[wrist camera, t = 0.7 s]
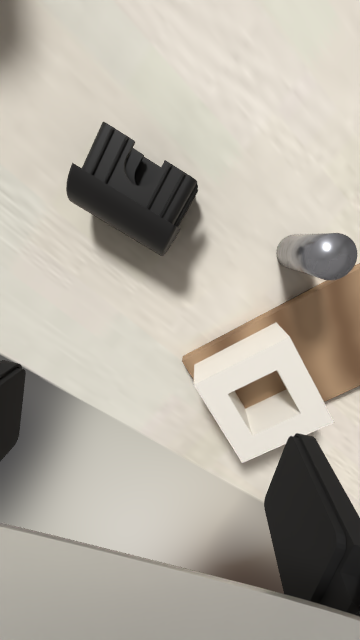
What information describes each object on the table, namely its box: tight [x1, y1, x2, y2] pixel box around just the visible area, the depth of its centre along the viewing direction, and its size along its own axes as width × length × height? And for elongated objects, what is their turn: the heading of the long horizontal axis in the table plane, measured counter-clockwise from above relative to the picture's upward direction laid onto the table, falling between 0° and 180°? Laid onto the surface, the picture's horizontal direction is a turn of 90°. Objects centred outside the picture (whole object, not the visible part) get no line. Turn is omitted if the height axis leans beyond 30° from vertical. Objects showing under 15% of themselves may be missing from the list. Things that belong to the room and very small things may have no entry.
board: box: [182, 263, 360, 409], centre depth 35 cm, size 22×12×2 cm, turn 120°
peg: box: [277, 233, 357, 280], centre depth 28 cm, size 3×3×10 cm
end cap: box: [66, 122, 198, 255], centre depth 29 cm, size 10×7×7 cm
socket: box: [194, 322, 335, 463], centre depth 32 cm, size 10×10×5 cm
